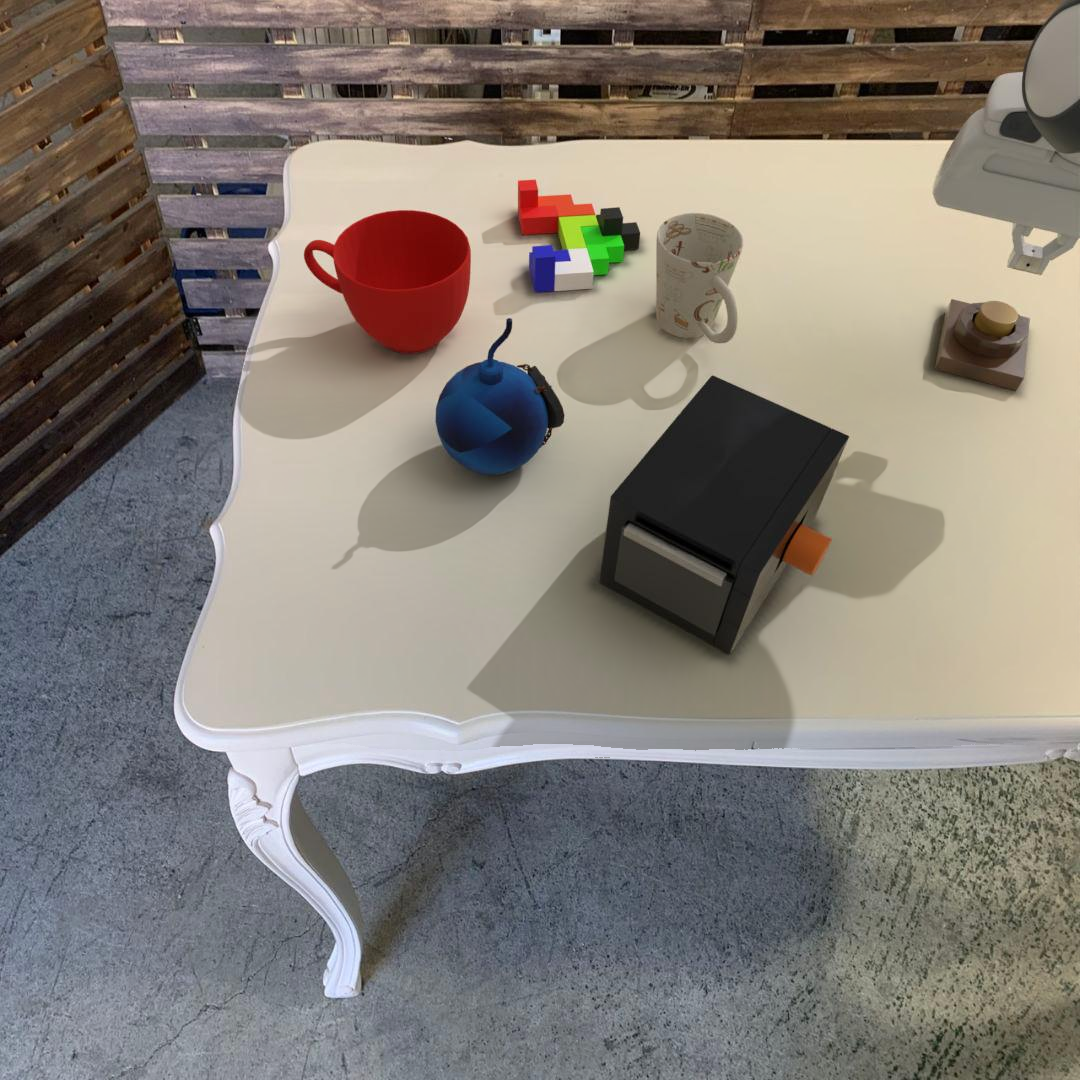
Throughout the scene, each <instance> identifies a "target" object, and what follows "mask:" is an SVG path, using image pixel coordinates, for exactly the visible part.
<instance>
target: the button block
mask: <svg viewBox="0 0 1080 1080" xmlns="http://www.w3.org/2000/svg"><path fill="white" fill-rule="evenodd" d="M985 302H986V301H983V302H972V303H971V302H966V301H961V300H958V299H953V298H951V299H950V301H949V303H948V306H947V307H946V310H945V313H944V318H943V323H942V329H941V334H940V339H939V345H938V349H937V355H936V360H935V366H934V370H935V371H940V372H943V373H948V374H951V375H955V376H959V377H962V378H966V379H970V380H973V381H977V382H978V381H979V382H982V383H985V384H989V385H993V386H996V387H1001V388H1004V389H1008V390H1013V391H1016V392H1017V391H1018V390H1019V388H1020V385H1021V384H1022V382H1023V381H1024V379H1025V371H1026V361H1027V352H1028V351H1027V350H1028V344H1029V343H1028V342H1029V341H1028V340H1029V331H1030V322H1031V318H1030V317H1028V316H1022V315H1020V314H1019V313H1018V319H1017V321H1016V323H1015V325H1014V326H1013V328H1012V330H1011V332H1010V333H1009V334H1008V335H1007V336H1002V337H997V336H993V335H989V334H986V333H984V332H982V331H981V330H979V329H978V328H977V327H976V326H975V324H974V320H975V318H976V316H977V314H978V312H979V310H980V308H981V306H982V304H984V303H985Z"/></svg>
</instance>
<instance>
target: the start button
mask: <svg viewBox="0 0 1080 1080" xmlns="http://www.w3.org/2000/svg"><path fill="white" fill-rule="evenodd" d="M984 302H985V303H984V304H982V306H981V308H980V310H979V312H978V314H977V316H976V318H975V320H974V324H975V326H976V327H977V328H978V329H979V330H981V331H982V332H984V333H986V334H989V335H993V336H997V337H1002V336H1007V335H1008V334H1009V333H1010V332H1011V330H1012V328H1013V326H1014V325H1015V323H1016V321H1017V319H1018V314H1019V312H1018V311H1017V310H1016V309H1015V307H1013V306H1012V305H1010V304H1008V303H1006V302H1003V301H999V300H988V301H984Z"/></svg>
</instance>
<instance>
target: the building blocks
mask: <svg viewBox="0 0 1080 1080" xmlns="http://www.w3.org/2000/svg"><path fill="white" fill-rule="evenodd" d="M517 217H518V221H519V225H520V229H521V230H520V231H521V235H522V236H524V235H525V236H527V235H541V234H542V235H544V234H558V238H559V242H560V245H561V246H560V247H561V249H559V250H558V249H557V250H554V246H553V244H548V245H546V244H545V245H534V246H532V247H531V248H532V249H531V250H532V251H531V252H528V272H529V275H530V278H531V283H532V286H533V291H534V293H545V292H562V291H576V290H577V291H578V290H590V289H591V290H592V289H593V285H594V276H602V275H608V274H609V266H610V264H611V263H623V262H624V253H625V251H627V250H628V251H630V250H639V248H640V239H641V231H640V228H639V226H638V222H636V221H634V222H633V221H632V222H624V216H623V213H622V210H621V208H620V206H616V207H605V208H604V207H603V208H600V213H599V214H596V211H595V209H594V206H593V203H577V204H575V203H574V200H573V197H572V194H571V193H570V194H553V195H551V194H550V195H539V186H538V183H537V179H519V180H517Z"/></svg>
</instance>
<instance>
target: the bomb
mask: <svg viewBox="0 0 1080 1080" xmlns="http://www.w3.org/2000/svg"><path fill="white" fill-rule="evenodd" d="M512 329H513V318H511V317H508V318H506V321H505V329H504V331H503V332H502V334H501V335H500V336H499V337H497V339H496V340H495V341H494V342H493V343H492V344H491V346H490V348H489V349H488V352H487V358H486V359H484V360H483V361H480V362H475V363H471V364H469V365H467V366H465V367H463V368H462V369H461V370H458V371H457V372H456V373H455V374H453V376H452V377H451V378H449V380H448V381H447V382H446V383H445V385H444V387H443V388H442V391H441V392H440V394H439V395H438V399H437V403H436V406H435V420H434V421H435V426H436V431H437V435H438V437H439V440H440V443H441V445H442V446H443V448H444V449H445V450H446V452H447V453H448V455H449V456H450V457H451V458H452V459H453V460H454V461H456V463H458V464H459V465H460V466H461V467H464V468H466V469H467V470H470V471H473V472H476V473H479V474H483V475H501V474H502V475H503V474H507V473H509V472H513V471H516V470H517V469H519V468H521V467H523V466H524V465H525V464H527V463H528V462H529V461H530V460H531V459H532V458H533V457H534V456H535V455H536V454H537V453H538V451H539V450H540V448H542V447H543V446H545V445H546V444H547V442H548V440H549V439H550V438H551V436H552V431H553V429H555V428H560V427H561V426H562V425H563V424H564V423H565V411H564V407H563V405H562V402H561V401H560V398H559V397H558V396H557V394H556V392H555V391H554V389H553V386H552V385H551V384H549V382H548V381H547V380H546V377H545V375H544V374H542V372H541V371H540V369H539V368H538V367H537V365H533V366H530V364H527V363H524V364H517V365H516V366H515V365H514V364H511V363H508V362H505V361H499V360H497V359H494V356H495V353H496V352H497V349H498V348H499V347H500V346H501V345H502V344H503V343H504V342H506V341H507V339H509V336H510V335H511V333H512Z"/></svg>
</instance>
